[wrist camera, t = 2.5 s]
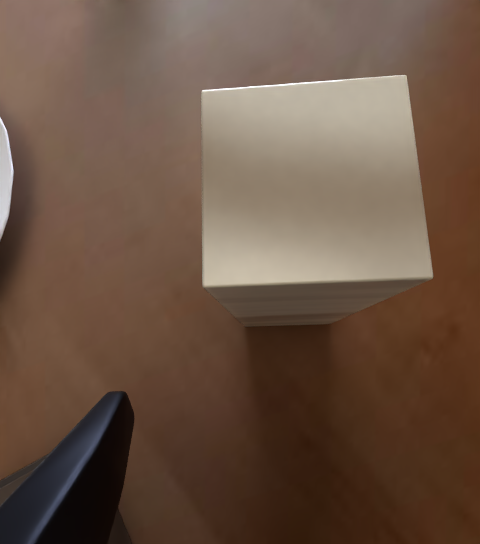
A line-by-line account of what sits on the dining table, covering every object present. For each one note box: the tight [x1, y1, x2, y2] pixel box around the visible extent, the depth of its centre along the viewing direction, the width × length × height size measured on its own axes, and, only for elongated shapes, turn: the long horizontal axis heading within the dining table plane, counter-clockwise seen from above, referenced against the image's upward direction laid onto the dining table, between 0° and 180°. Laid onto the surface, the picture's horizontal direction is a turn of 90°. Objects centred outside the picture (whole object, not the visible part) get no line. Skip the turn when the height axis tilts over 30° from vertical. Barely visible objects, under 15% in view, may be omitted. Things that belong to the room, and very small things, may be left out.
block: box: [201, 75, 433, 327], centre depth 14 cm, size 5×5×13 cm
